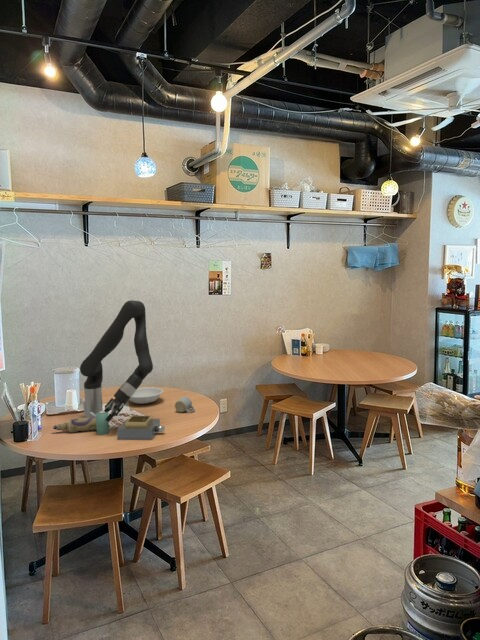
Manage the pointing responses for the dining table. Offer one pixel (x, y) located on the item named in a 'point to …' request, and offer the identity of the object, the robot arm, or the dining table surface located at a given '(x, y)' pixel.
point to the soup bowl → (146, 395)
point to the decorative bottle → (78, 425)
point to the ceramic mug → (184, 405)
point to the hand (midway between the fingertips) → (104, 418)
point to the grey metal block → (139, 428)
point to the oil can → (101, 422)
